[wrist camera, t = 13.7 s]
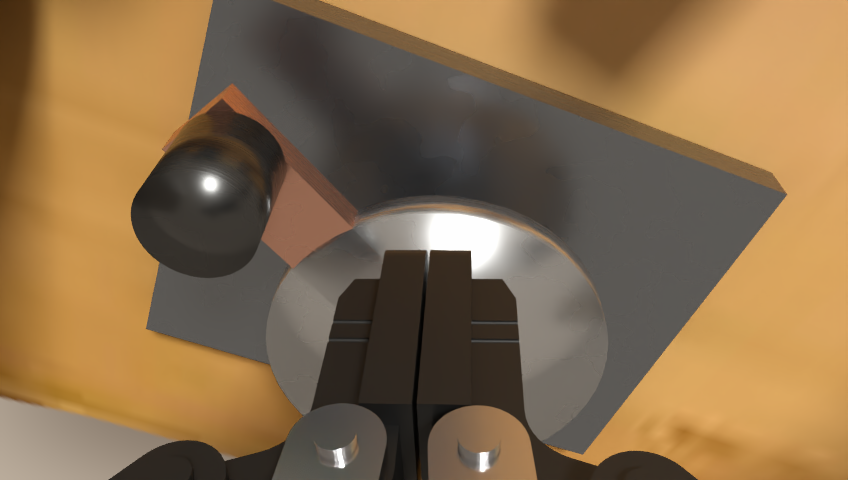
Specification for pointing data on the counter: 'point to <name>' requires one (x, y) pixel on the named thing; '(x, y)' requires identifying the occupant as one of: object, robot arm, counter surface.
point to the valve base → (473, 177)
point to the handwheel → (358, 252)
